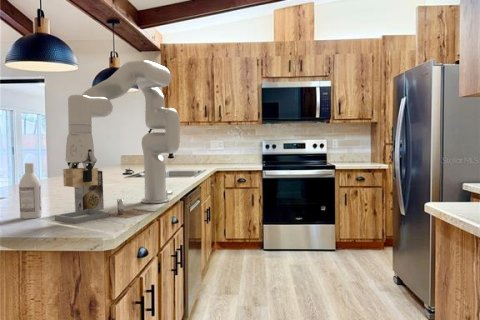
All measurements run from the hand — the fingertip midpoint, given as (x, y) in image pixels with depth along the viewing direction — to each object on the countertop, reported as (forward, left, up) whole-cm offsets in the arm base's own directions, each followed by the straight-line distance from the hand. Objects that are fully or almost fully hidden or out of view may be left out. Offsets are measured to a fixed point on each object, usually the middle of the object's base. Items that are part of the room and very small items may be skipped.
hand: (81, 180), depth 135 cm
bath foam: (+7, -20, -14) cm, 25 cm away
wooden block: (0, 0, -2) cm, 2 cm away
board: (-15, +8, -14) cm, 22 cm away
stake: (-11, +7, -14) cm, 19 cm away
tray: (0, 0, -14) cm, 14 cm away
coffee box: (-12, -12, -14) cm, 22 cm away
